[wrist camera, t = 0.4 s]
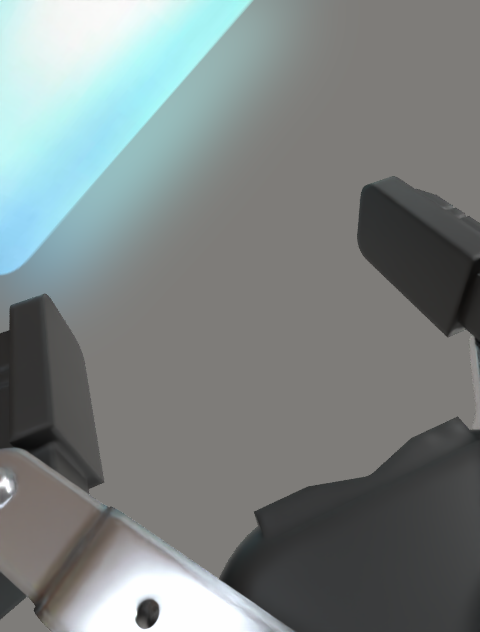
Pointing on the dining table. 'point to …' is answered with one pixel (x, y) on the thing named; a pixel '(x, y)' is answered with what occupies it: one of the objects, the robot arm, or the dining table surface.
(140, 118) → the dining table surface
